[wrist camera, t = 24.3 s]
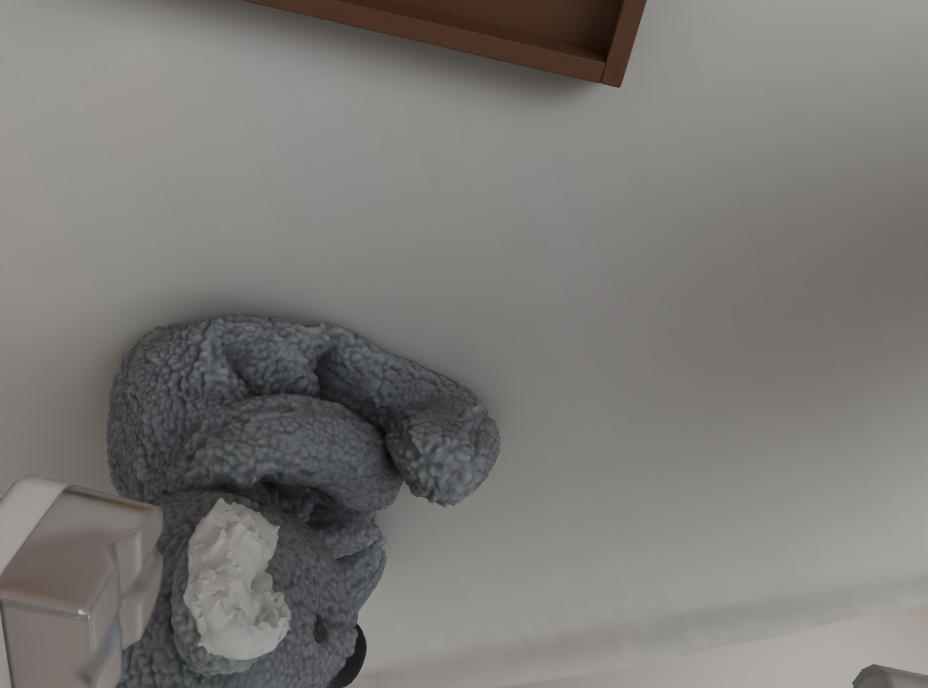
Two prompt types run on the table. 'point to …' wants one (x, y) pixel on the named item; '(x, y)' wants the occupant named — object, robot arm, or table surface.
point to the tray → (502, 29)
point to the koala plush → (276, 490)
